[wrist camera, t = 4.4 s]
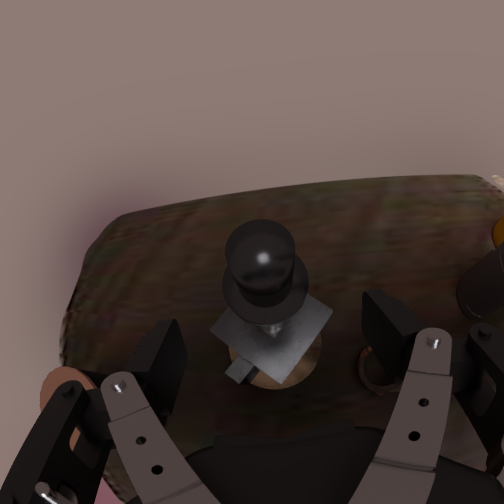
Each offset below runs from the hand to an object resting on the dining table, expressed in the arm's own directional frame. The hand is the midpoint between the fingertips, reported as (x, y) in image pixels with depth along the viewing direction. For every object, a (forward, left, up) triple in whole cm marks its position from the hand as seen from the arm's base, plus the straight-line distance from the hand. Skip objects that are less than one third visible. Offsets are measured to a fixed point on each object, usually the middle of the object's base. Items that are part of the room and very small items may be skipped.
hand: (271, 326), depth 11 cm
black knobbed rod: (-3, -3, -19) cm, 20 cm away
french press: (-3, -3, -31) cm, 31 cm away
